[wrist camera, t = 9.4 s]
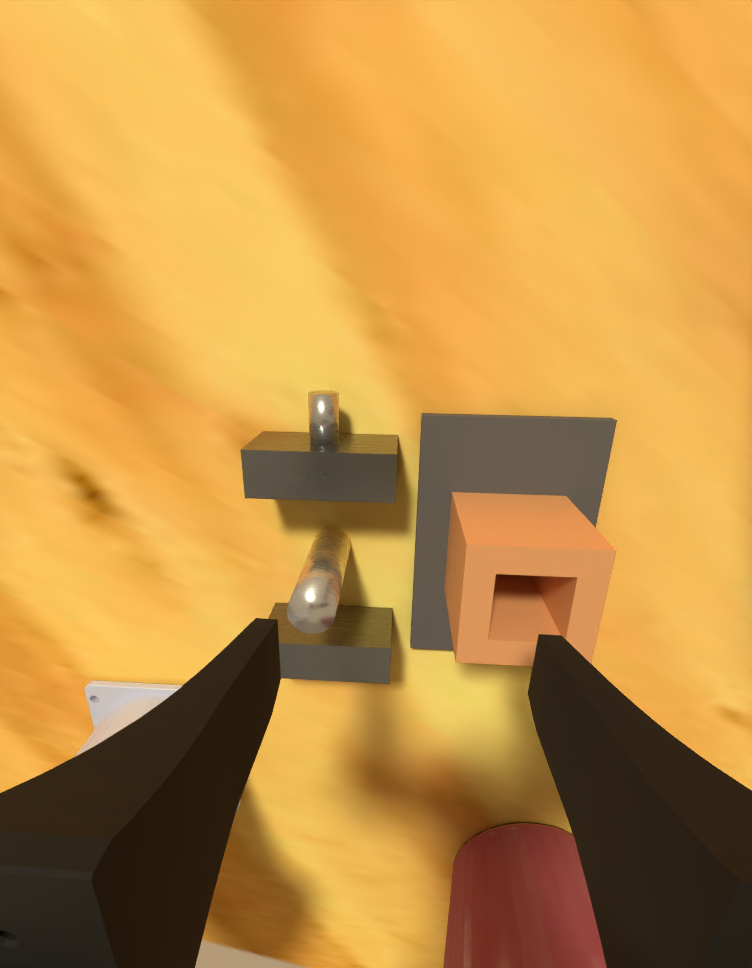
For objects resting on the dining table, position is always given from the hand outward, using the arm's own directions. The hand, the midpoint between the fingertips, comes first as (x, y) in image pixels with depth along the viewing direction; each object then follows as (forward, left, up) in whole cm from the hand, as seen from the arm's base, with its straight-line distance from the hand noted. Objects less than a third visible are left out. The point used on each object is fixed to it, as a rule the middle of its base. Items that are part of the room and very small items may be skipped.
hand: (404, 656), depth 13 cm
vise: (-2, +3, -9) cm, 10 cm away
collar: (-1, -5, -9) cm, 10 cm away
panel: (-1, -5, -9) cm, 10 cm away
